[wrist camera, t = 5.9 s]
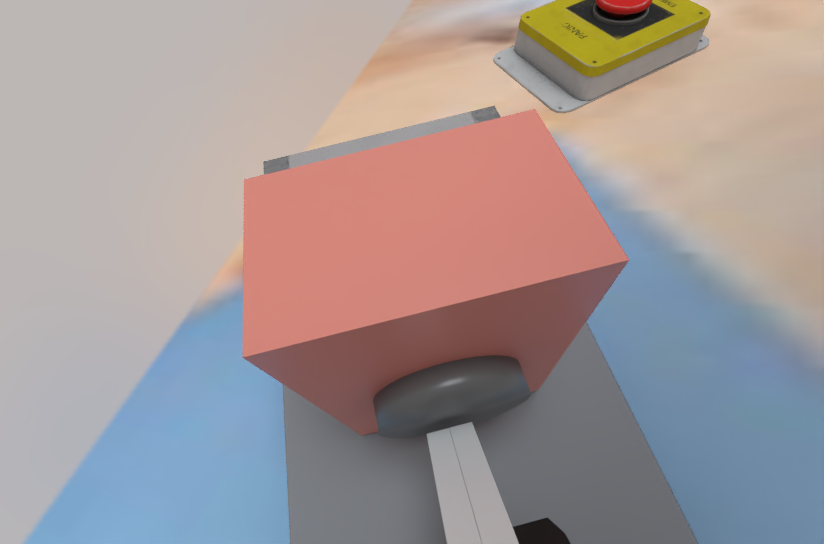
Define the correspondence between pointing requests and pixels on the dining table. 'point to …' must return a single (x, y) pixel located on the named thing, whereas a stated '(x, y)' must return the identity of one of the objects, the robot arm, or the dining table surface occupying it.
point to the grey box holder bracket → (380, 140)
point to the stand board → (509, 463)
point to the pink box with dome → (423, 275)
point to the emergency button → (599, 46)
